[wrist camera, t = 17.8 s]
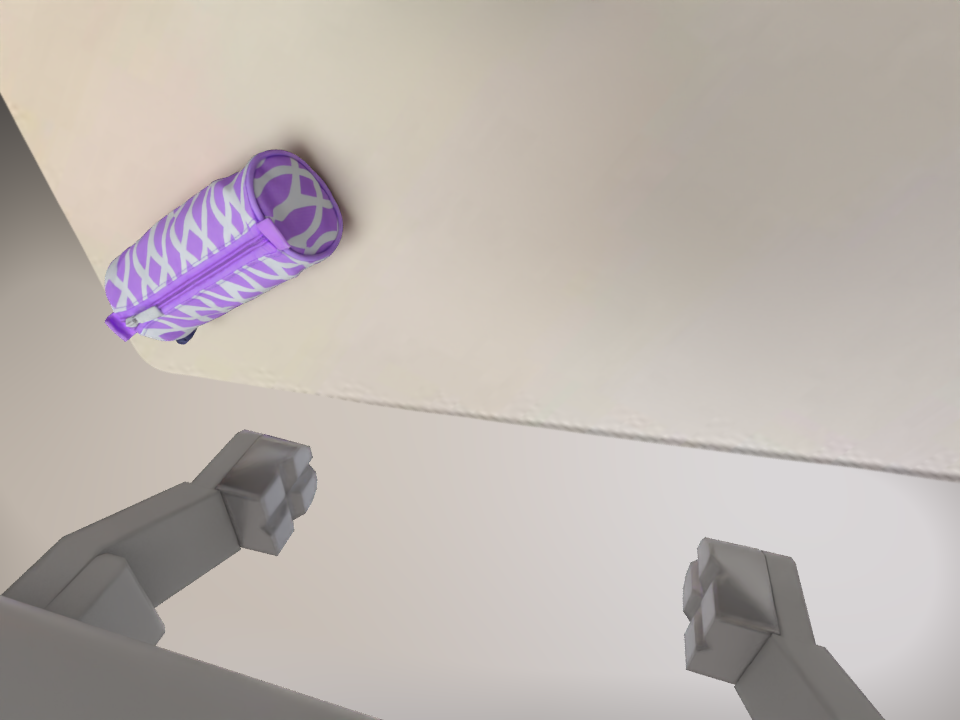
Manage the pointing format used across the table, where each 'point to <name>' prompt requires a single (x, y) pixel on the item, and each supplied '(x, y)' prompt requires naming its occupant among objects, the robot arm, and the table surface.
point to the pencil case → (223, 248)
